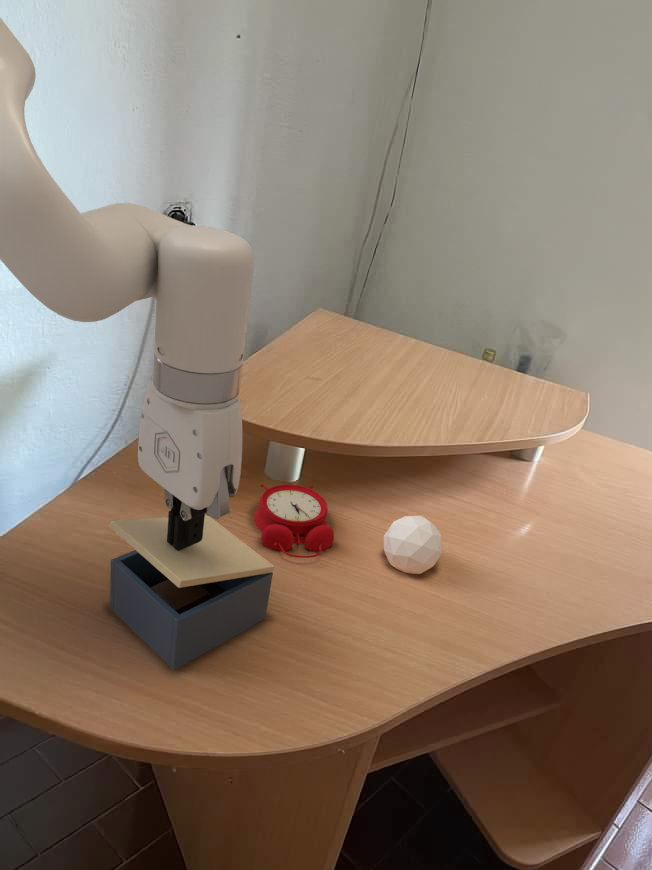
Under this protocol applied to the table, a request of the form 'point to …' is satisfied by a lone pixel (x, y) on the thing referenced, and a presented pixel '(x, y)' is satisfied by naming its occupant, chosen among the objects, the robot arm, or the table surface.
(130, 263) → the robot arm
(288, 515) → the alarm clock
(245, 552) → the lid
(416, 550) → the geometric ball
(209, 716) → the table surface
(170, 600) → the block
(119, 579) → the chest
